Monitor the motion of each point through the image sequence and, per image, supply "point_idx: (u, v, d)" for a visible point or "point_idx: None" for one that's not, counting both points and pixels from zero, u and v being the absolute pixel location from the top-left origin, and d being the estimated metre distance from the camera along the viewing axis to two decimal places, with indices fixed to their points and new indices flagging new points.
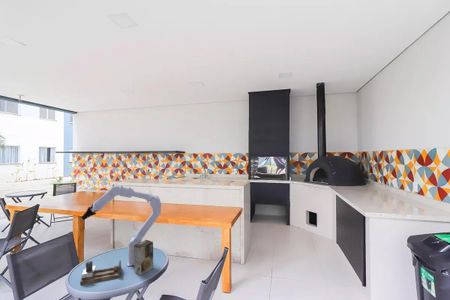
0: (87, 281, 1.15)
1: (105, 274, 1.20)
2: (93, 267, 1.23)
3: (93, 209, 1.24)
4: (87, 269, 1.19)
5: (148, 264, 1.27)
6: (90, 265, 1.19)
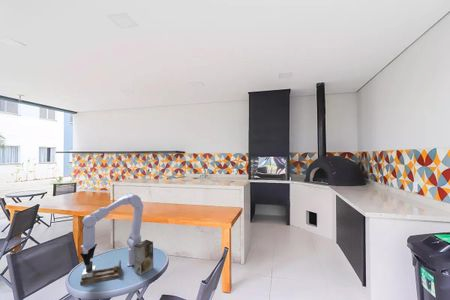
0: (87, 281, 1.15)
1: (105, 274, 1.20)
2: (93, 267, 1.23)
3: (85, 251, 1.14)
4: (87, 269, 1.19)
5: (148, 264, 1.27)
6: (90, 265, 1.19)
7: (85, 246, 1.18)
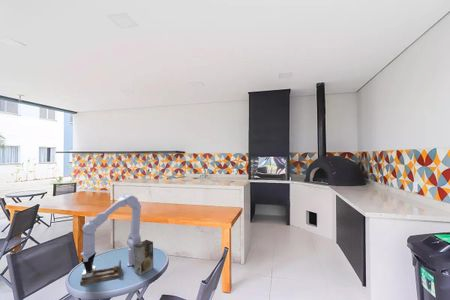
0: (87, 281, 1.15)
1: (105, 274, 1.20)
2: (93, 267, 1.23)
3: (85, 259, 1.13)
4: None
5: (148, 264, 1.27)
6: None
7: (85, 254, 1.17)
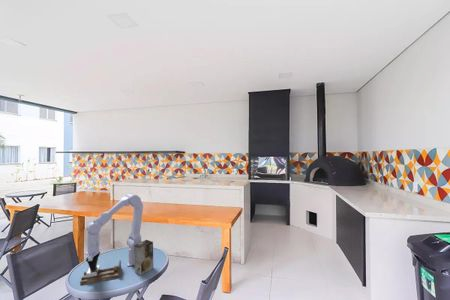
0: (87, 281, 1.15)
1: (105, 274, 1.20)
2: (97, 266, 1.23)
3: (89, 258, 1.14)
4: None
5: (148, 264, 1.27)
6: None
7: (89, 253, 1.18)
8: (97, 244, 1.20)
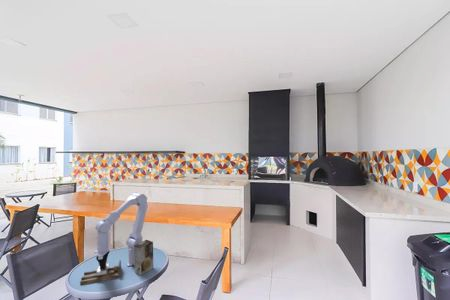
0: (87, 281, 1.15)
1: (105, 274, 1.20)
2: (107, 265, 1.25)
3: (100, 257, 1.16)
4: None
5: (148, 264, 1.27)
6: None
7: (99, 252, 1.20)
8: (107, 243, 1.22)
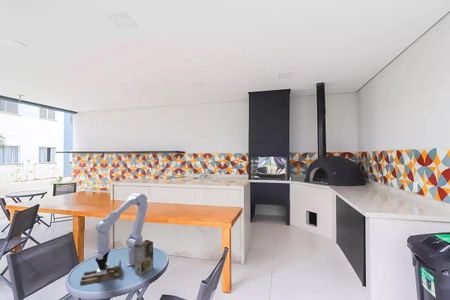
0: (87, 281, 1.15)
1: (105, 274, 1.20)
2: (107, 265, 1.25)
3: (100, 257, 1.16)
4: None
5: (148, 264, 1.27)
6: None
7: (99, 252, 1.20)
8: (107, 243, 1.22)
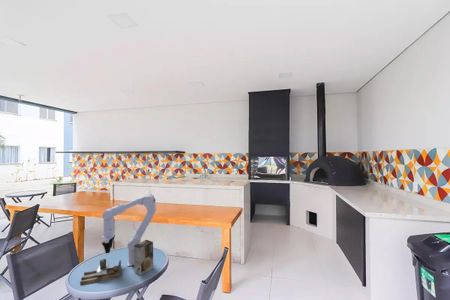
0: (87, 281, 1.15)
1: (105, 274, 1.20)
2: (107, 265, 1.25)
3: (106, 241, 1.27)
4: (101, 267, 1.21)
5: (148, 264, 1.27)
6: (104, 263, 1.22)
7: (106, 236, 1.31)
8: (112, 229, 1.34)
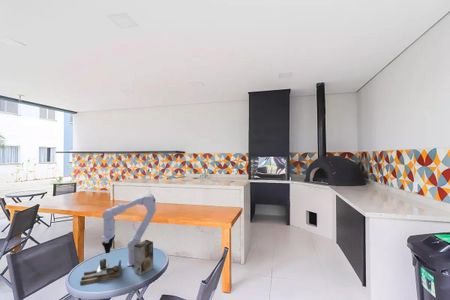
0: (87, 281, 1.15)
1: (105, 274, 1.20)
2: (107, 265, 1.25)
3: (106, 241, 1.27)
4: (101, 267, 1.21)
5: (148, 264, 1.27)
6: (104, 263, 1.22)
7: (106, 236, 1.31)
8: (112, 229, 1.34)
